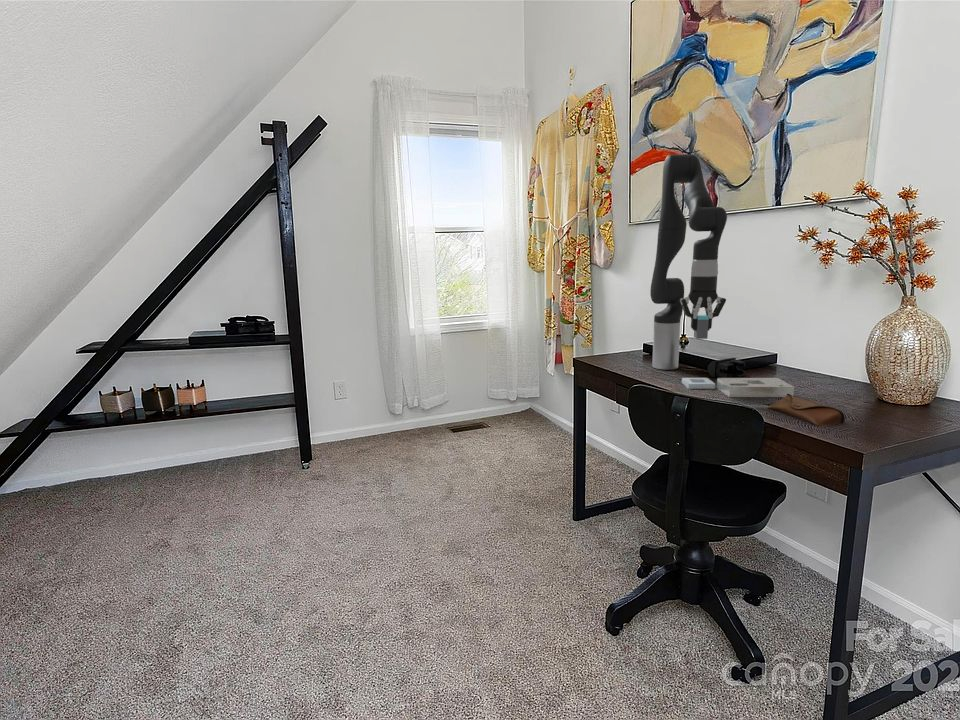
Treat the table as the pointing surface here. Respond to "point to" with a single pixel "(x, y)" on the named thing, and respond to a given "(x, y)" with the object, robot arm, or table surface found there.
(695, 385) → the holster
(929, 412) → the table surface
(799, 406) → the sunglasses case
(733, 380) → the port panel
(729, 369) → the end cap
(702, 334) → the plug
